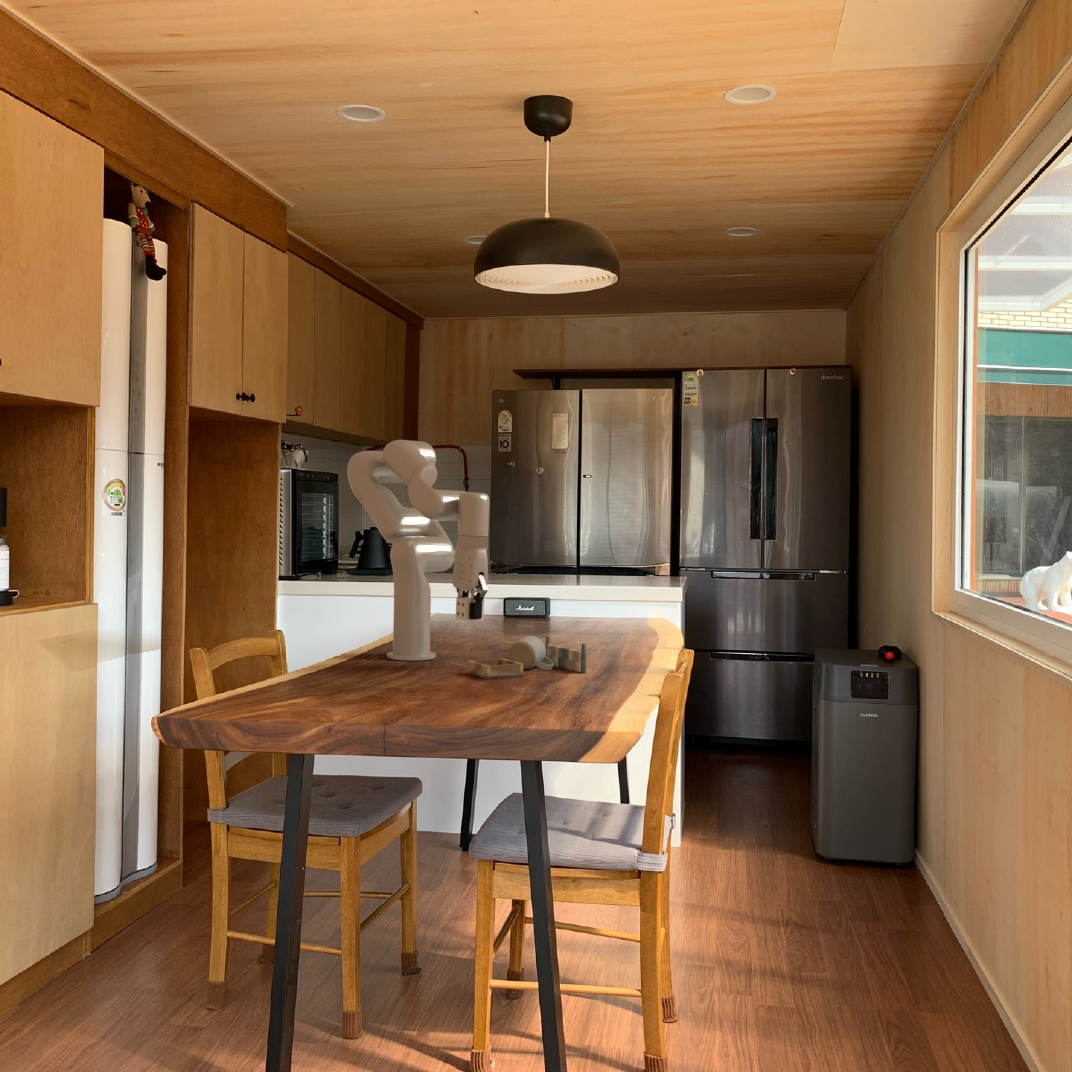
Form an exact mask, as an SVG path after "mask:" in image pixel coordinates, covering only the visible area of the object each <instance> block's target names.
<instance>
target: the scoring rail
mask: <svg viewBox="0 0 1072 1072" xmlns="http://www.w3.org/2000/svg"><path fill="white" fill-rule="evenodd" d="M551 638H552V637H551V636H548V635H547V636H545V648H546V657H548V658H549V659H550V660H552V661H553V663H554V666H557V667H556V668H558V667H561V668H560V669H562V668H567V669H570V670H569V671H571V670H576V671H579V672H582V673H581V674H586V673H587V649H588V647H587V643H581V650H578V649H573V648H569V647H563V646H559V645H554V644H552V643H551V640H552V639H551ZM554 666H553V667H554ZM567 669H566V670H567ZM579 672H578V673H579ZM585 672H586V673H585Z"/></svg>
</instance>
